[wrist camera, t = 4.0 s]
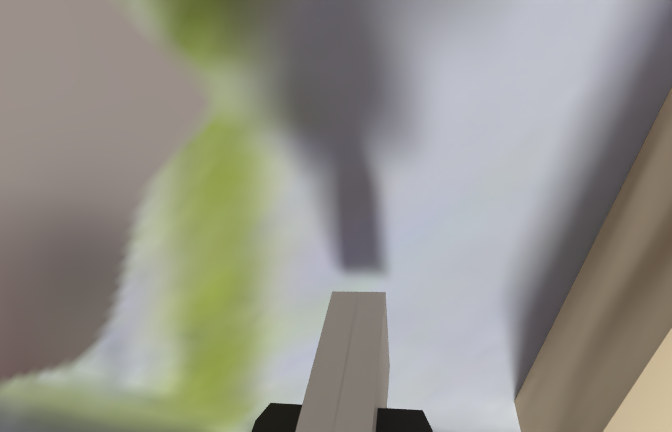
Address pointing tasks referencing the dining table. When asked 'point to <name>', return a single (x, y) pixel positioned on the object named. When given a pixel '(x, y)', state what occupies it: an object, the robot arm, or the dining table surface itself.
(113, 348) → the dining table surface
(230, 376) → the dining table surface
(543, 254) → the dining table surface
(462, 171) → the dining table surface
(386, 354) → the robot arm
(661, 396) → the birch block
